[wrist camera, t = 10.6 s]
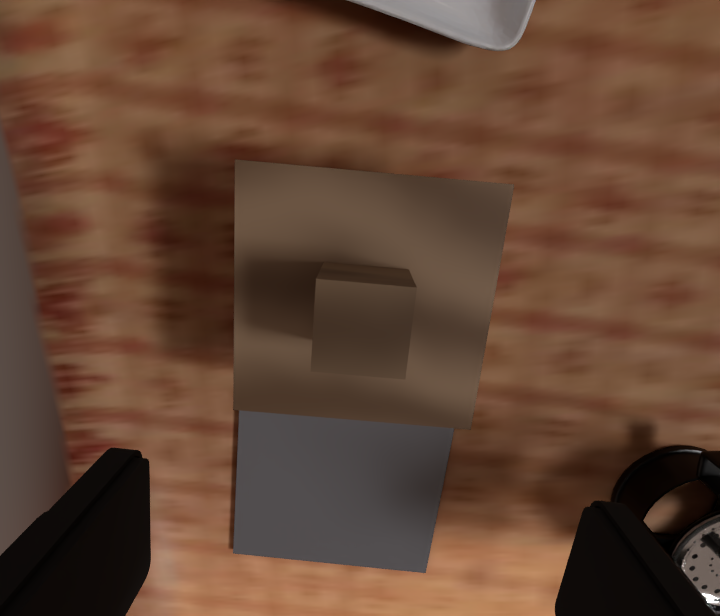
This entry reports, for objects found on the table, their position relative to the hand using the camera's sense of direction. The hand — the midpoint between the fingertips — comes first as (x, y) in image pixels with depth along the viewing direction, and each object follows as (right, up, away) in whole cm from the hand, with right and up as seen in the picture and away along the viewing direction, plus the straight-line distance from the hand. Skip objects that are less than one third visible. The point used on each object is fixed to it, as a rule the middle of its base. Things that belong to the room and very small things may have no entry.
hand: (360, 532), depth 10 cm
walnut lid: (0, +5, +16) cm, 16 cm away
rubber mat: (-2, -9, +26) cm, 27 cm away
